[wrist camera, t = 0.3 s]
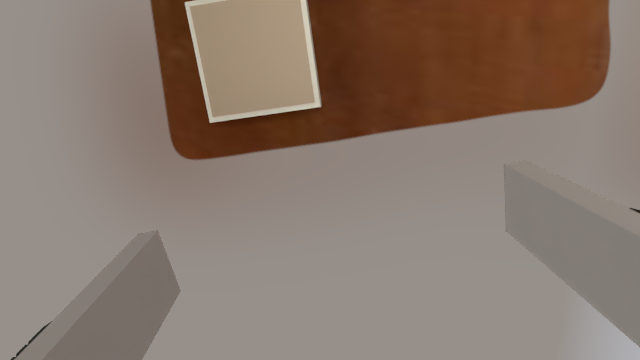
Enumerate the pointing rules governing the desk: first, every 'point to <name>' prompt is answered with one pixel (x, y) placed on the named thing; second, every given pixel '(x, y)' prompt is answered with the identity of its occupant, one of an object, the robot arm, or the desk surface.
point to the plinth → (254, 56)
